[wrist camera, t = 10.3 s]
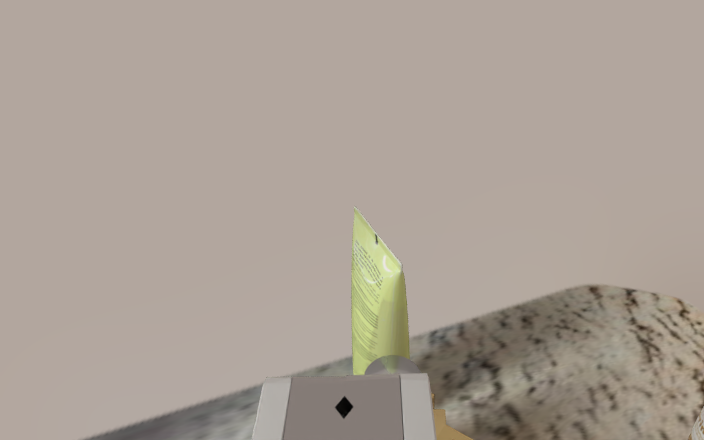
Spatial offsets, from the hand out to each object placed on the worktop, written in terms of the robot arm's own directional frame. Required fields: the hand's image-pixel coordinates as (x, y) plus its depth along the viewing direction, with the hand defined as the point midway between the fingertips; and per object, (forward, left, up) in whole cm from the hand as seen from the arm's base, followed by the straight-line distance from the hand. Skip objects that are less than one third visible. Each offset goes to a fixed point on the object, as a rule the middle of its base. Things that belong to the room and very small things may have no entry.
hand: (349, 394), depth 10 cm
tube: (0, +22, -32) cm, 39 cm away
